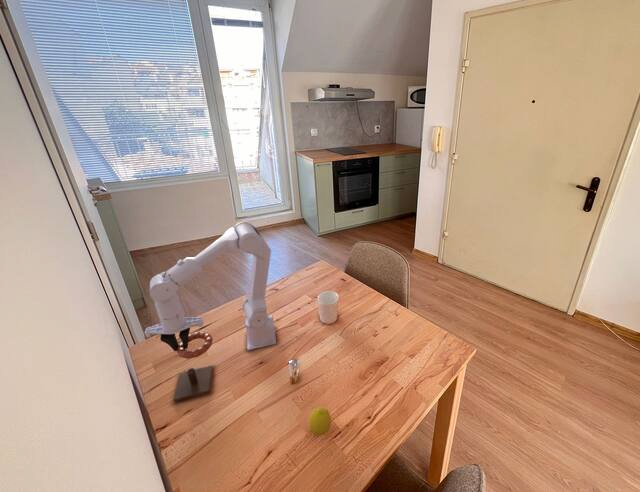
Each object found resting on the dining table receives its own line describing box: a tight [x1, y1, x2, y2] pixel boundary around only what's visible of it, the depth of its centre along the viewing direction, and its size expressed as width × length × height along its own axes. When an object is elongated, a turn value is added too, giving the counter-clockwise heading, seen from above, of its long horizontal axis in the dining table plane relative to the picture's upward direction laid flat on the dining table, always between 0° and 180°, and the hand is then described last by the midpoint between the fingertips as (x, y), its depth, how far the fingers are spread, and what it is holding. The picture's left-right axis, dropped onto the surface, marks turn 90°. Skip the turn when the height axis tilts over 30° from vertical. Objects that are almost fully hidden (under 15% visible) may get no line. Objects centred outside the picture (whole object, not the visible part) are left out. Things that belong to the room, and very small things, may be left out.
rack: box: [173, 365, 213, 403], centre depth 87 cm, size 9×9×6 cm
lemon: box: [308, 406, 332, 437], centre depth 75 cm, size 6×6×8 cm
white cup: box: [317, 290, 339, 325], centre depth 113 cm, size 8×8×10 cm
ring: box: [288, 357, 301, 385], centre depth 89 cm, size 7×3×8 cm, turn 174°
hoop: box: [176, 331, 214, 360], centre depth 90 cm, size 10×10×2 cm
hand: (181, 347), depth 89 cm, fingers closed on hoop, 2 cm apart
